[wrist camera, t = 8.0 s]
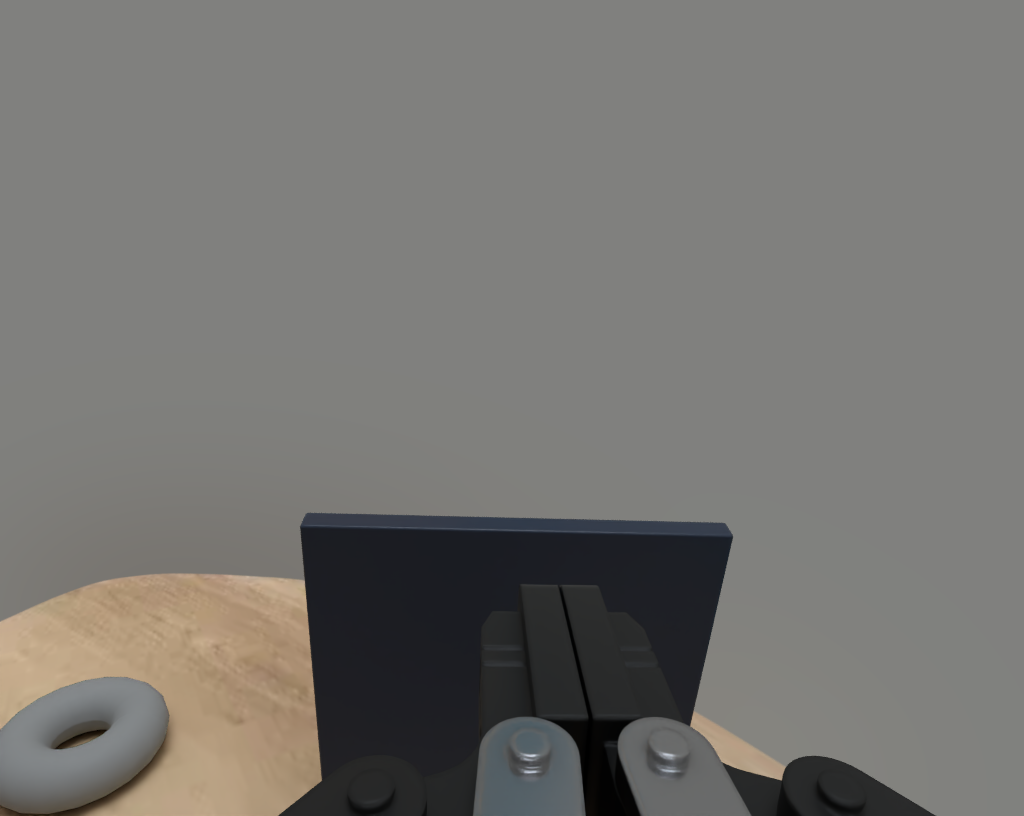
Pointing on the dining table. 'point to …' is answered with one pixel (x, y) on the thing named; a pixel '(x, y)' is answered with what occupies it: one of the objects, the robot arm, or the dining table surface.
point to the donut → (88, 767)
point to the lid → (478, 615)
